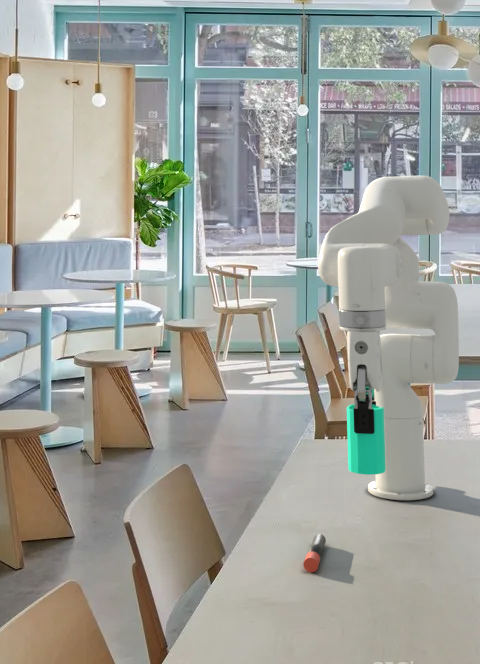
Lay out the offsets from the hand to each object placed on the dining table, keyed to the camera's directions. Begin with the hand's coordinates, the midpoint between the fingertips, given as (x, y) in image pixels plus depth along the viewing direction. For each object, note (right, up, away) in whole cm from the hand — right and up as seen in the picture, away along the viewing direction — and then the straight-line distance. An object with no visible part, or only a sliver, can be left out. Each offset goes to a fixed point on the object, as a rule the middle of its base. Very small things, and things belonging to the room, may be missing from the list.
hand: (365, 427), depth 170 cm
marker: (-9, -21, -2) cm, 23 cm away
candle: (0, -7, 0) cm, 7 cm away
